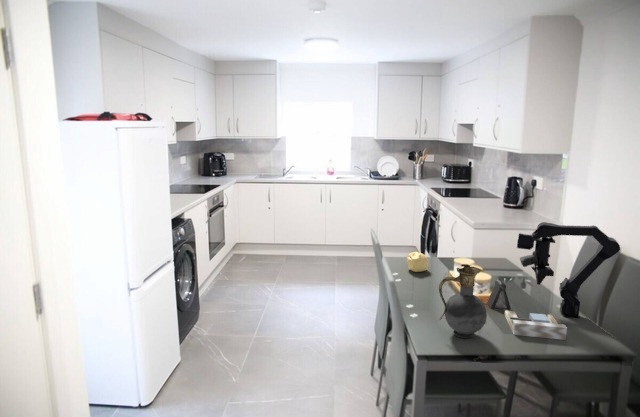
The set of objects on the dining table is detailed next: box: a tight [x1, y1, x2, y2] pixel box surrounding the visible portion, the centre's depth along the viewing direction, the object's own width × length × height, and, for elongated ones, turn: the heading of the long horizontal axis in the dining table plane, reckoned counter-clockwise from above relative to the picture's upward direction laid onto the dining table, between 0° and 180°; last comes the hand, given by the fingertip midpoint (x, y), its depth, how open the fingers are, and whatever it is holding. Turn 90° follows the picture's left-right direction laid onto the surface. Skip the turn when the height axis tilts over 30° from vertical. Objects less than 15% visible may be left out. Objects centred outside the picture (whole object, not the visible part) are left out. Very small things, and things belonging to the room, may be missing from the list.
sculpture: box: [406, 251, 429, 273], centre depth 247 cm, size 12×12×11 cm
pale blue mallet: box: [510, 312, 550, 323], centre depth 178 cm, size 14×6×5 cm, turn 77°
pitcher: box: [438, 263, 487, 339], centre depth 170 cm, size 11×19×30 cm, turn 93°
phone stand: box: [486, 278, 512, 310], centre depth 198 cm, size 9×6×12 cm, turn 85°
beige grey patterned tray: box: [504, 309, 568, 341], centre depth 179 cm, size 19×19×5 cm
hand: (538, 284), depth 194 cm, fingers closed
